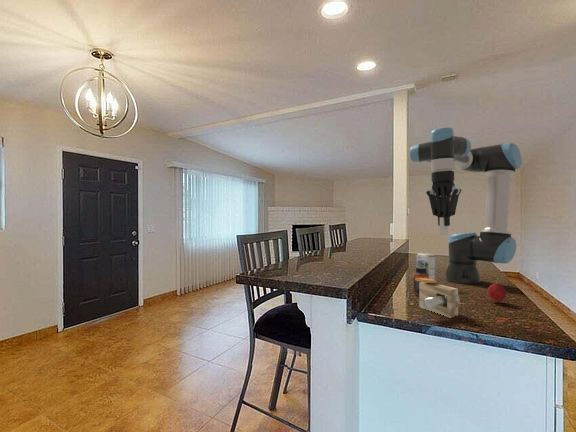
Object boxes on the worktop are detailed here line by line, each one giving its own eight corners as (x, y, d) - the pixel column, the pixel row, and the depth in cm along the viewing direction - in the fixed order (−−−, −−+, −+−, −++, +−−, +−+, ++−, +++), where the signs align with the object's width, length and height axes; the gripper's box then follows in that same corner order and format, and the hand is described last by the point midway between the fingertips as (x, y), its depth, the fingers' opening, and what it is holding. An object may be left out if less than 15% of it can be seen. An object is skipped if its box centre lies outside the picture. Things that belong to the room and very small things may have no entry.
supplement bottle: (430, 297, 122) (430, 269, 122) (415, 296, 123) (414, 268, 123) (427, 293, 128) (426, 266, 128) (412, 292, 129) (411, 265, 129)
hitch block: (427, 305, 111) (426, 281, 111) (458, 315, 101) (457, 288, 100) (419, 307, 110) (419, 282, 109) (450, 317, 99) (449, 290, 99)
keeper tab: (429, 281, 110) (430, 278, 110) (438, 283, 107) (438, 280, 107) (414, 280, 107) (415, 277, 107) (423, 282, 104) (423, 279, 104)
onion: (489, 299, 117) (489, 278, 117) (507, 302, 113) (507, 281, 113) (485, 302, 113) (485, 281, 113) (504, 306, 109) (504, 284, 109)
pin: (446, 303, 106) (446, 288, 106) (460, 307, 102) (460, 292, 102) (419, 309, 100) (419, 294, 100) (433, 313, 96) (432, 298, 96)
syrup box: (416, 284, 142) (416, 253, 142) (424, 282, 145) (424, 252, 145) (427, 287, 137) (426, 255, 137) (435, 285, 140) (435, 253, 140)
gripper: (466, 169, 108) (467, 235, 109) (434, 173, 120) (435, 232, 121) (452, 168, 105) (453, 236, 106) (420, 173, 117) (422, 234, 117)
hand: (444, 234), depth 113 cm, fingers closed
